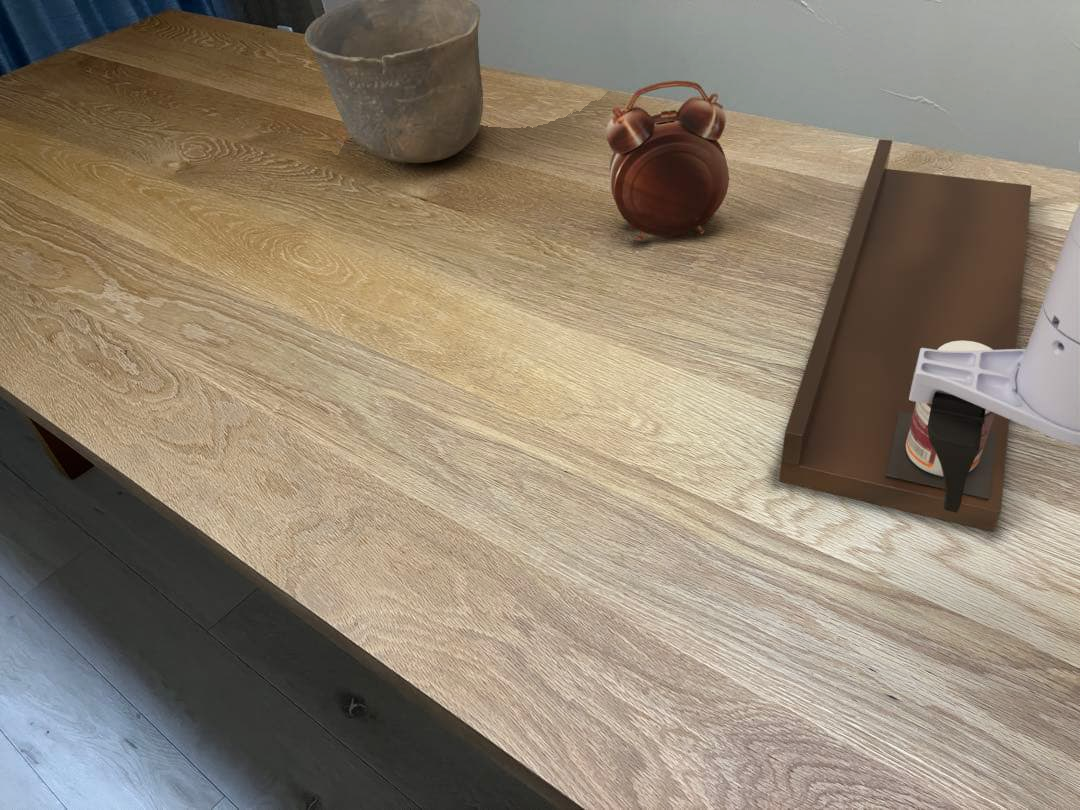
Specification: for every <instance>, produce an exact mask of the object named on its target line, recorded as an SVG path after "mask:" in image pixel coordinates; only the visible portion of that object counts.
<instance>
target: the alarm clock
mask: <svg viewBox="0 0 1080 810" xmlns="http://www.w3.org/2000/svg"><path fill="white" fill-rule="evenodd" d="M674 87H683V88H684V87H686V88H693V89H694V90H696V91H698V93H700V95H701V96H699V95H698V96H693V97H690V98H688V99H687V100H686V101H685V102H683V104H682V105H681V106H680V107H679V108H678V110H676V109H671V110H663V111H661V113H658V114H654V115H650V114H649V112H647V111H646V110H645V109H643V108H642V107H640V106H636V105H635V103H636V101H637V99H638V98H639V97H640V96H642V95H644V94H646V93H649V92H652V91H657V90H660V89H664V88H665V89H666V88H674ZM718 99H719V95H718V93H716V92H713V93H712V94H710V96H708V95H707V94H706V92H705V91H704V89H703V87H702V86H701V85H700V84H698V83H697V82H693V81H690V80H689V81H688V80H687V81H686V80H669V81H661V82H658V83H654V84H651V85H648V86H645V87H643V88H639V89H638V90H636V91H635V92H634V93H633V94H632V97H631V99H630V100H629V103H628V104H627V106H626V107H624V108H621V109H620V108H618V107H614V108H613V110H612V114H613V116H611V118H609V121H608V123H607V125H606V128H605V137H606V141H607V143H608V145H609V147H610V149H611V150H612V154H611V157H610V162H609V184H610V190H611V194H612V197H613V201H614V203H615V204H616V207H617V209H618V212H619V213H620V215H621V217H622V218H623V219H624V220H625V221H626V222H627V223H628V224H629V226H630V227H631V228H634V229H636V230H637V231H639V235H638V236H636V240H637V241H639V242H640V241H642V240H643V236H644V235H645V234H647V235H650V236H656V237H670V236H677V235H682V234H685V233H688V232H691V231H692V230H695V229H697V230H698V232H699V234H701V235H702V234H704V233H705V229H704V228H703V227H702V225H704V224H705V223H706V222H707V221H708V220H709V219H711V218H712V217H713V216H714V215H715V214H716V213H717V212H718V210H719V209H720V208H721V206H722V205H723V203H724V201H725V199H726V195H727V194H728V189H729V185H730V184H729V183H730V173H729V167H728V163H727V158H726V155H725V152H724V150H723V147H722V145H721V144H720V142H719V140H720V138H721V137H722V135H723V133H724V130H725V127H726V124H727V116H726V113H725V111H724V106H723V105H722V104H721V103H718V102H717V101H718ZM634 105H635V106H634Z"/></svg>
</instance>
